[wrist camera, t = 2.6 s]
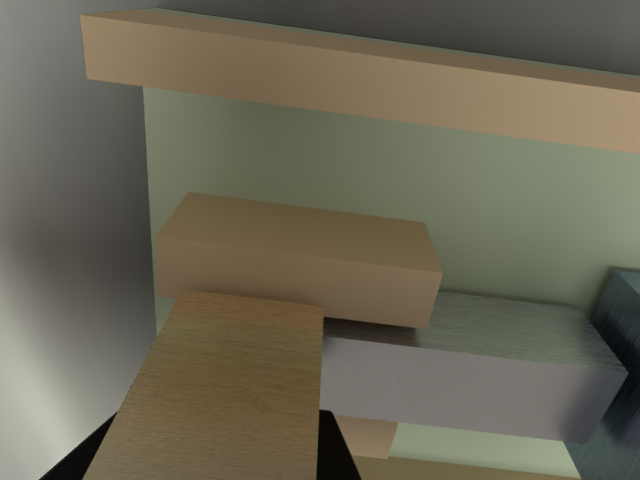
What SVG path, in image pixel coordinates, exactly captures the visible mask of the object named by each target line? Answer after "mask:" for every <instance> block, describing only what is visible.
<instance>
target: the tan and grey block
mask: <svg viewBox="0 0 640 480" xmlns="http://www.w3.org/2000/svg"><path fill="white" fill-rule="evenodd" d="M319 409H322V410H330V411H331V412H332V413H333V414H334V415H341V416H350V417H358V418H367V419H375V420H384V421H393V422H401V423H410V424H418V425H427V426H435V427H444V428H453V429H461V430H470V431H478V432H487V433H495V434H504V435H513V436H521V437H530V438H538V439H547V440H556V441H563V443H564V445H565V447H566V449H567V451H568V453H569V455H570V457H571V459H572V461H573V463H574V465H575V467H576V469H577V471H578V473H579V475H580V477H581V479H582V480H640V273H636V272H628V271H620V270H614V272H613V274H612V276H611V278H610V280H609V282H608V284H607V286H606V288H605V290H604V292H603V294H602V296H601V298H600V300H599V302H598V304H597V306H596V308H595V310H594V312H593V314H592V316H591V318H590V320H588V319H587V317H586V316H585V315H584V313H583V312H582V311H581V309H580V308H572V307H564V306H556V305H548V304H540V303H532V302H524V301H516V300H508V299H500V298H492V297H484V296H476V295H468V294H460V293H452V292H444V291H438V292H437V296H436V299H435V302H434V306H433V309H432V312H431V316H430V319H429V322H428V326H427V329H421V328H413V327H405V326H396V325H388V324H380V323H372V322H364V321H356V320H348V319H339V318H331V317H324V306H317V305H309V304H301V303H293V302H285V301H277V300H269V299H261V298H252V297H244V296H236V295H228V294H220V293H212V292H204V291H196V290H188V289H182V290H181V292H180V294H179V296H178V298H177V300H176V302H175V304H174V305H173V307H172V309H171V311H170V313H169V315H168V317H167V319H166V321H165V323H164V325H163V326H162V328H161V330H160V332H159V334H158V336H157V338H156V340H155V342H154V344H153V346H152V347H151V349H150V351H149V353H148V355H147V357H146V359H145V361H144V363H143V365H142V367H141V368H140V370H139V372H138V374H137V376H136V378H135V380H134V382H133V384H132V386H131V388H130V390H129V391H128V393H127V395H126V397H125V399H124V401H123V403H122V405H121V407H120V409H119V411H118V412H117V414H116V416H115V418H114V420H113V422H112V424H111V426H110V428H109V430H108V432H107V433H106V435H105V437H104V439H103V441H102V443H101V445H100V447H99V449H98V451H97V453H96V454H95V456H94V458H93V460H92V462H91V464H90V466H89V468H88V470H87V472H86V474H85V475H84V477H83V479H82V480H316V471H317V449H318V427H319Z"/></svg>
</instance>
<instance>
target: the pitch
mask: <svg viewBox="0 0 640 480" xmlns="http://www.w3.org/2000/svg"><path fill="white" fill-rule="evenodd" d="M80 21H81V30H82V39H83V48H84V57H85V66H86V75H87V79H91V80H98V81H105V82H113V83H120V84H127V85H135V86H142V87H143V98H144V116H145V134H146V152H147V170H148V188H149V207H150V225H151V243H152V261H153V279H154V298H155V316H156V334H157V336H158V334H159V332H160V330H161V328H162V326H163V325H164V323H165V321H166V319H167V317H168V315H169V313H170V311H171V309H172V307H173V305H174V304H175V302H176V300H177V298H178V296H179V294H180V292H181V290H182V289H188V290H196V291H204V292H212V293H220V294H228V295H236V296H244V297H252V298H261V299H269V300H277V301H285V302H293V303H301V304H309V305H317V306H324V317H331V318H339V319H348V320H356V321H364V322H372V323H380V324H388V325H396V326H405V327H413V328H421V329H427V326H428V322H429V319H430V316H431V312H432V309H433V306H434V302H435V299H436V296H437V292H438V291H444V292H452V293H460V294H468V295H476V296H484V297H492V298H500V299H508V300H516V301H524V302H532V303H540V304H548V305H556V306H564V307H572V308H580V309H581V311H582V312H583V313H584V315H585V316H586V317H587V319H588V320H590V318H591V316H592V314H593V312H594V310H595V308H596V306H597V304H598V302H599V300H600V298H601V296H602V294H603V292H604V290H605V288H606V286H607V284H608V282H609V280H610V278H611V276H612V274H613V272H614V270H620V271H628V272H636V273H640V76H637V75H630V74H623V73H616V72H609V71H602V70H595V69H587V68H580V67H573V66H566V65H559V64H552V63H545V62H538V61H531V60H523V59H516V58H509V57H502V56H495V55H488V54H481V53H474V52H467V51H459V50H452V49H445V48H438V47H431V46H424V45H417V44H410V43H403V42H395V41H388V40H381V39H374V38H367V37H360V36H353V35H346V34H339V33H331V32H324V31H317V30H310V29H303V28H296V27H289V26H282V25H275V24H267V23H260V22H253V21H246V20H239V19H232V18H225V17H218V16H211V15H203V14H196V13H189V12H182V11H175V10H168V9H161V8H147V9H136V10H126V11H115V12H104V13H93V14H83V15H80ZM334 416H335V419H336V421H337V423H338V425H339V428H340V430H341V432H342V435H343V437H344V439H345V441H346V444H347V446H348V448H349V451H350V453H351V455H352V457H353V460H354V462H355V464H356V467H357V469H358V471H359V473H360V476H361V478H362V480H582V479H581V477H580V475H579V473H578V471H577V469H576V467H575V465H574V463H573V461H572V459H571V457H570V455H569V453H568V451H567V449H566V447H565V445H564V443H563V441H556V440H547V439H538V438H530V437H521V436H513V435H504V434H495V433H487V432H478V431H470V430H461V429H453V428H444V427H435V426H427V425H418V424H410V423H401V422H393V421H384V420H375V419H367V418H358V417H350V416H341V415H334Z"/></svg>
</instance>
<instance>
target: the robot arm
mask: <svg viewBox="0 0 640 480" xmlns="http://www.w3.org/2000/svg"><path fill="white" fill-rule="evenodd" d="M118 411H119V410H118ZM118 411H117V412H118ZM117 412H116V413H115V414H114V415H113V416H111V417H110V418H109V419H108V420H107V421H106V422H105V423H103V424H102V425H101V426H100V427H99V428H98V429H97V430H95V431H94V432H93V433H92V434H91V435H90V436H89V437H87V438H86V439H85V440H84V441H83V442H82V443H80V444H79V445H78V446H77V447H76V448H75V449H74V450H72V451H71V452H70V453H69V454H68V455H67V456H66V457H64V458H63V459H62V460H61V461H60V462H59V463H57V464H56V465H55V466H54V467H53V468H52V469H51V470H49V471H48V472H47V473H46V474H45V475H44V476H43V477H41V478H40V479H39V480H82V479H83V477H84V475H85V474H86V472H87V470H88V468H89V466H90V464H91V462H92V460H93V458H94V456H95V454H96V453H97V451H98V449H99V447H100V445H101V443H102V441H103V439H104V437H105V435H106V433H107V432H108V430H109V428H110V426H111V424H112V422H113V420H114V418H115V416H116V414H117ZM316 480H362V478H361V476H360V473H359V471H358V469H357V467H356V464H355V462H354V460H353V457H352V455H351V453H350V451H349V448H348V446H347V444H346V441H345V439H344V437H343V435H342V432H341V430H340V428H339V425H338V423H337V421H336V419H335V416H334V414H333V413H332V412H331V411H330V410H322V409H319V427H318V449H317V471H316Z"/></svg>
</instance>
